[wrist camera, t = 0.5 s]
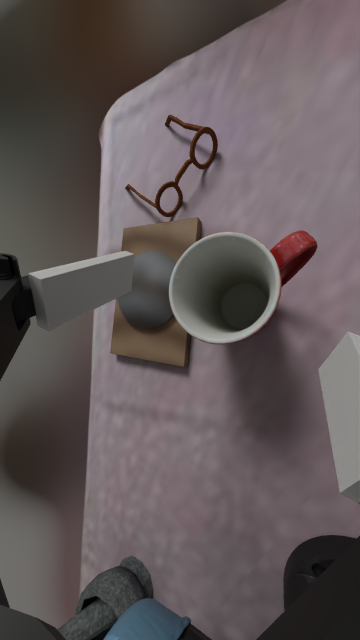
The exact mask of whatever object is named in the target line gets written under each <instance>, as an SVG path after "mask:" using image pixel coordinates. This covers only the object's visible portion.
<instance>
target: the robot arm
mask: <svg viewBox="0 0 360 640" xmlns="http://www.w3.org/2000/svg"><path fill="white" fill-rule="evenodd" d="M133 266H134V254H133V253H130V252H127V251H122V252H118V253H113V254H109V255H105V256H100V257H97V258H92V259H88V260H84V261H79V262H75V263H71V264H67V265H62V266H58V267H53V268H49V269H45V270H41V271H36V272H32V273H28V276H24V277H21V275H20V270H19V266H18V261H17V258H16V257H15V256H13V255H9V254H2V253H0V380H1V378H2V376H3V374H4V372H5V371H6V369H7V367H8V365H9V363H10V361H11V359H12V358H13V356H14V354H15V352H16V350H17V348H18V346H19V345H20V342H21V341H22V339H23V337H24V335H25V333H26V331H27V330H28V328H29V326H30V317H33V316H35V315H36V318H37V324H38V326H40V327H42V328H43V329H45V330H47V331H51V330H53V329H55V328H57V327H59V326H61V325H63V324H65V323H67V322H69V321H71V320H73V319H75V318H77V317H79V316H81V315H83V314H85V313H87V312H89V311H91V310H94V309H96V308H98V307H100V306H102V305H104V304H106V303H108V302H110V301H112V300H114V299H116V298H118V297H120V296H122V295H124V294H126V293H128V292H130V291H131V289H132V277H133ZM318 371H319V377H320V382H321V388H322V394H323V399H324V405H325V411H326V417H327V422H328V428H329V434H330V439H331V445H332V451H333V457H334V462H335V468H336V474H337V479H338V485H339V491H340V493H341V494H343V495H345V496H346V497H348V498H350V499H352V500H354V501H355V502H357V503H359V504H360V336H359V335H356V334H353V333H351V332H347V333H346V334H345V336H344V337H343V338H342V339H341V341H340V342H339V343H338V345H337V346H336V347H335V349H334V350H333V351H332V352H331V354H330V355H329V356H328V358H327V359H326V360H325V361H324V363H323V364H322V365H321V367H320V368H319V369H318ZM284 610H285V611H284V612H283V613H282V614H281V615H280V616H279V617H278V618H277V619H276V620H275V621H274V622H273V623H272V624H271V625H270V626H269V627H268V628H267V629H266V630H265V631H264V632H263V633H262V634H261V635H260V636H259V637H258V638H257V639H256V640H360V536H359V537H358V538H357V539H355V538H351V537H345V536H336V535H327V536H319V537H315V538H312V539H309V540H307V541H305V542H303V543H302V544H300V545H299V546H298V547H297V548H296V549H295V550H294V551H293V552H292V554H291V555H290V557H289V559H288V561H287V563H286V567H285V571H284ZM0 640H66V639H65V638H64V637H63V635H62V634H61V633H60V632H59V631H58V630H57V629H56V628H55V627H53V626H51V625H49V624H47V623H45V622H44V621H42V620H40V619H38V618H36V617H33V616H30V615H27V614H24V613H22V612H19V611H16V610H13V609H10V607H9V604H8V601H7V598H6V595H5V592H4V589H3V586H2V583H1V580H0ZM103 640H211V639H210V638H209V637H208V636H206V635H205V634H204V633H202V632H201V631H200V630H198V629H197V628H196V627H194V626H193V625H192V624H191V619H190V618H188V617H186V616H185V617H183V618H182V617H180V616H179V615H177V614H176V613H174V612H173V611H171V610H170V609H168V608H167V607H165V606H164V605H162V604H161V603H159V602H158V601H156V600H154V599H150V598H146V599H142V600H140V601H138V602H136V603H134V604H133V605H132V606H131V607H130V608H128V609H127V610H126V611H125V612H124V613H123V614H122V615H121V617H120V618H119V619H118V620H117V622H116V623H115V624H114V625H113V627H112V628H111V629H110V631H109V632H108V633H107V635H106V636H105V638H104V639H103Z"/></svg>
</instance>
